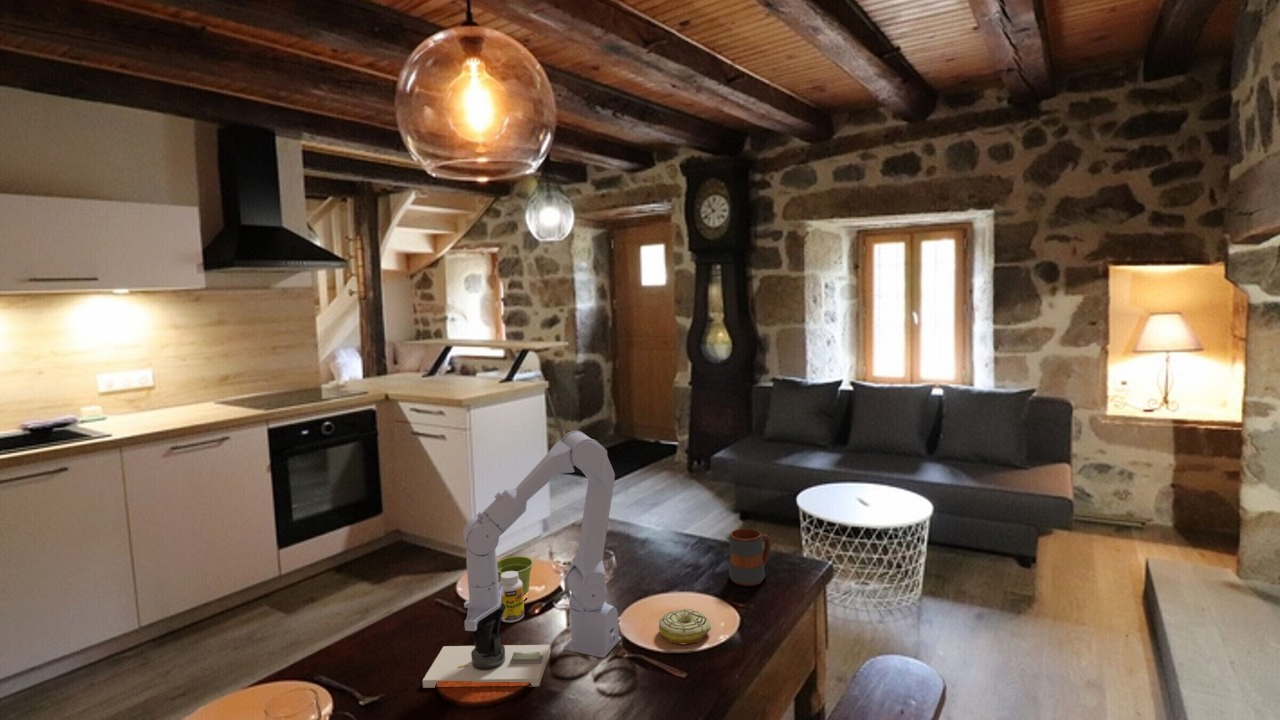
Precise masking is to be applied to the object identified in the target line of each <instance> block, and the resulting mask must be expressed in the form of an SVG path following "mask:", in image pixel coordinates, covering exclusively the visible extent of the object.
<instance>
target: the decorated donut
mask: <svg viewBox="0 0 1280 720" xmlns="http://www.w3.org/2000/svg"><path fill="white" fill-rule="evenodd" d="M658 628H659V629H658V630H659V632H660V634H661V636H662V637H663V638H665V639H666V640H667V641H668V640H669V642H671V641H672V642H676V643H675V644H677V643H690V644H694V643H693V642H696V641H698V642H700V641H702V640H703V639H704V638H705V636H706V635H707V634H708V633H709V632H710V631H711V629H712V624H711V621H710V619H709V618H708V616H707V615H705V613H703V612H700V611H699V610H697V609H694V608H693V609H689V608H688V609H685V608H684V609H676V610H672V611H669V612H667V613H665V614H663V615H662V616H661V617H660V618H659V621H658ZM672 642H671V643H672ZM696 643H697V642H696Z"/></svg>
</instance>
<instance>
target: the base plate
mask: <svg viewBox="0 0 1280 720" xmlns="http://www.w3.org/2000/svg"><path fill="white" fill-rule="evenodd" d="M502 645H503V646H504V647H505V661H504V663H503V664H502V665H500V666H499V667H496V668H494V669H490V670H479V669H476V668H474V667H473V666H472V657H471V652H472V651H473V649H474V648H475V645H454V646H453V645H448V646H447V645H446V646H445V645H444V646H442V648H441V650H440V652H439V653H438V655H437V656H436V658H435V659H434V660H433V663H432V664H431V666H430V668H429V669H428V671H427V672H426V674H425V676H424V677H423V679H422V688H423V689H424V688H425V689H428V688H429V689H431V688H433V689H434V688H435V685H436V683H437V682H438V681H472V682H479V681H480V682H481V681H482V682H530V683H531V685H532V686H531V687H540V685H541V681H542V678H543V675H544V672H545V670H546V667H547V663H548V660H549V658H550V654H551V645H550V644H525V645H524V644H517V645H516V644H507V645H504V644H502Z"/></svg>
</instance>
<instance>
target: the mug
mask: <svg viewBox="0 0 1280 720" xmlns="http://www.w3.org/2000/svg"><path fill="white" fill-rule="evenodd" d="M763 541H764V547H763ZM771 545H772V541H771V538H770V536H769V535H768V534H766V533H763V534H762V533H761V532H760V531H759V530H757V529H753V528H738V529H734V530H732V531H731V532H730V533H729V552H730V560H729V564H728V565H729V566H728V567H729V569H728V571H729V572H728V574H729V578H730V579H731V581H732V583H734V584H736V585H738V586H743V587H753V586H754V587H755V586H758V585H760V584H761V583H762V582H763V580H764V579H765V575H766V574H765V573H766V572H765V566H766V564H767V563H768V561H769V558H770V553H771V547H772V546H771Z"/></svg>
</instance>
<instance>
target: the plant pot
mask: <svg viewBox="0 0 1280 720" xmlns="http://www.w3.org/2000/svg"><path fill="white" fill-rule="evenodd" d="M533 565H534V560H533V559H532V558H531V557H527V556H523V555H522V556H521V555H519V556H517V555H516V556H508V557H505V558H502V559H500V560H497V568H498V582H499V583H500V582H501V574H502V573H504V572H507V571H516V572H518V575H519V580H521V581H522V583H523V596H524V595H525V594H526V593H527V592H528V591H529V592H530V580H531V579H530V577H531V571H532V566H533Z"/></svg>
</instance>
